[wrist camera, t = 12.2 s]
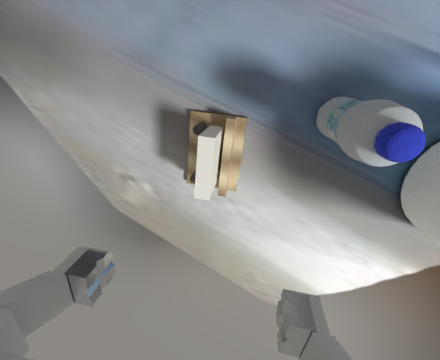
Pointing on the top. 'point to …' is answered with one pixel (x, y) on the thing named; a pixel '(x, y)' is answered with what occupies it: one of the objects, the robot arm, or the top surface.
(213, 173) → the white rectangular block
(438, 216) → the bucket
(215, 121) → the tan pegged board
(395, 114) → the bottle
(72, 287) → the robot arm
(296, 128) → the top surface
